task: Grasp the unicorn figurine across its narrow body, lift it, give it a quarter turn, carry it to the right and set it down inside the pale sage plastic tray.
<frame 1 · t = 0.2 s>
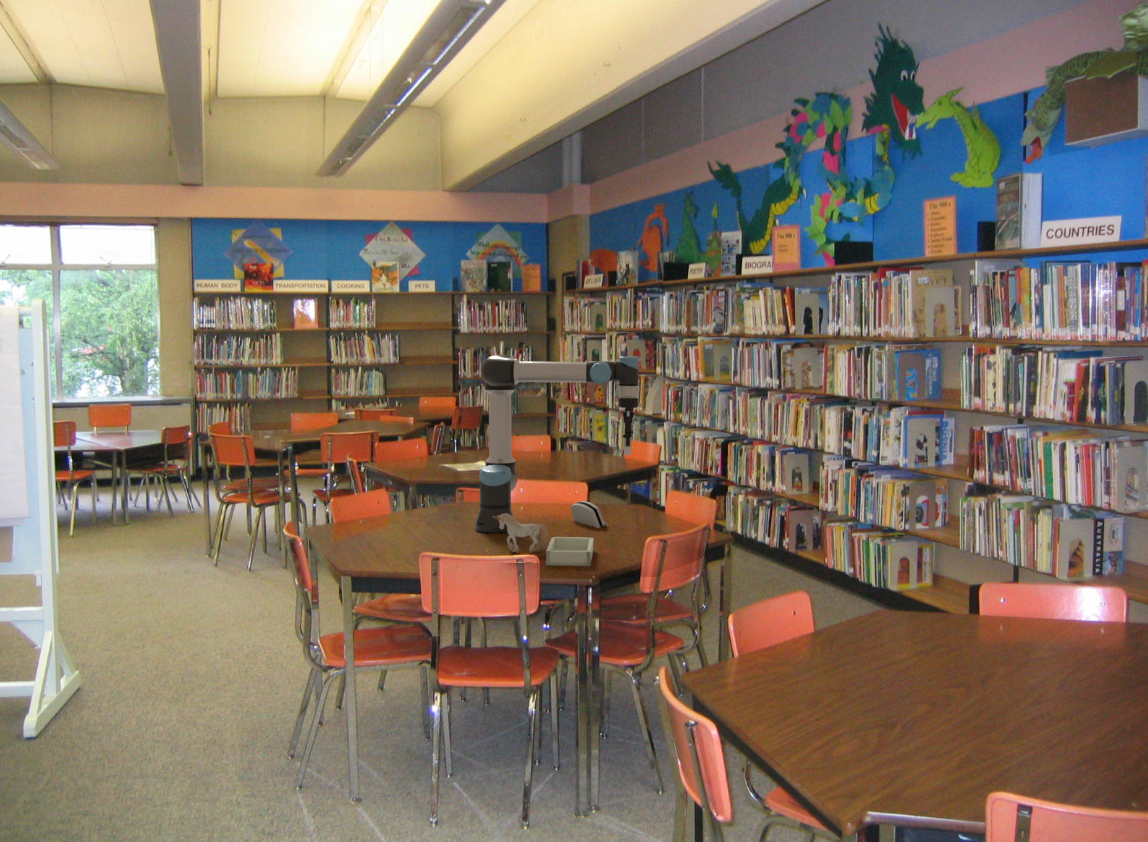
hand: (627, 452, 371), 28 cm above the table, tool pointing down, fingers open, 13 cm apart
tray: (570, 557, 318), on the table
grey curved block: (587, 525, 374), on the table
unicorn figurine: (520, 554, 323), on the table
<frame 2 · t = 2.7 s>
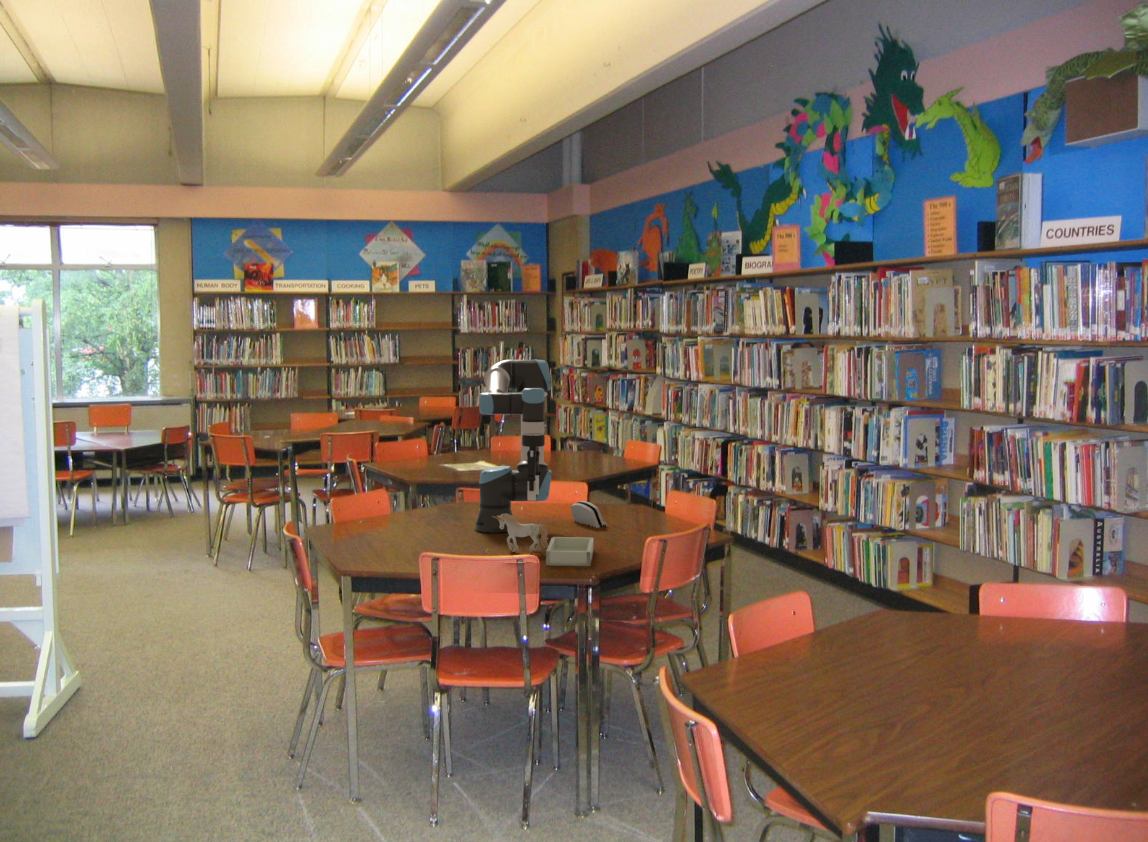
hand: (533, 497, 326), 18 cm above the table, tool pointing down, fingers open, 13 cm apart
nothing on the table moved.
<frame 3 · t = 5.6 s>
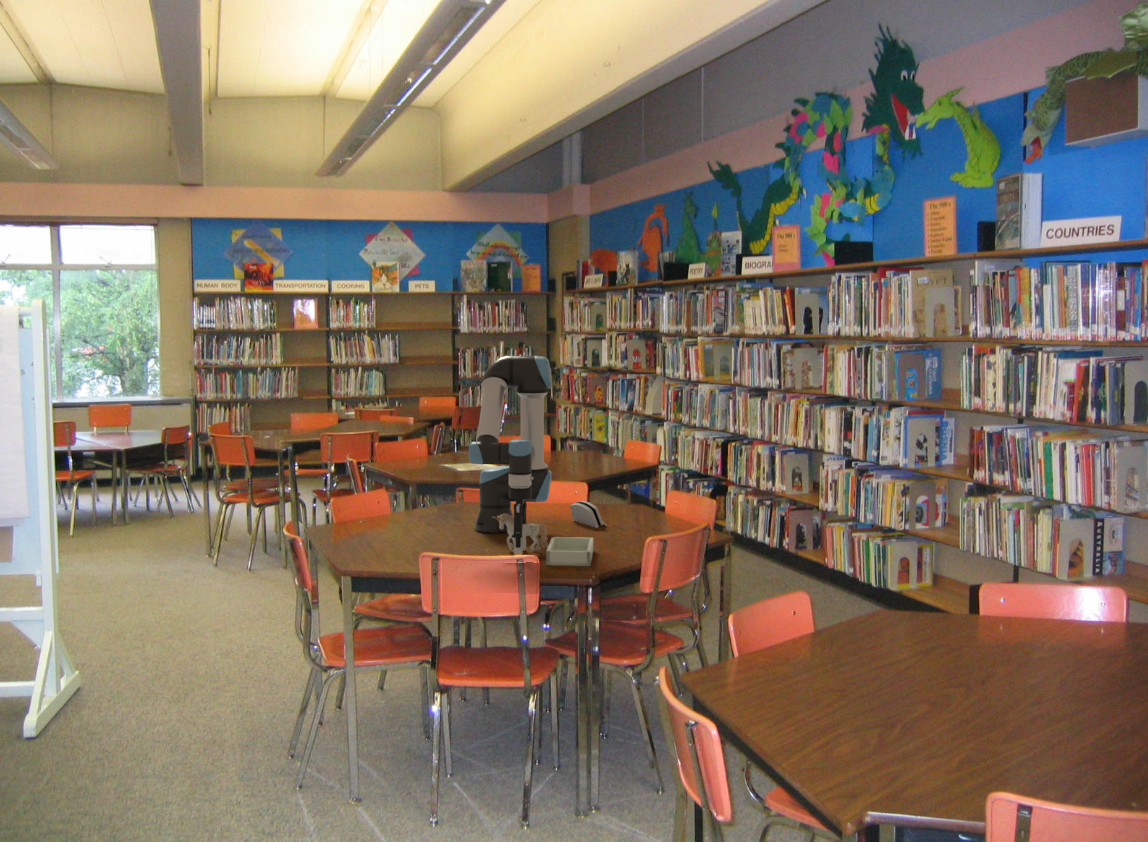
hand: (520, 553, 323), 0 cm above the table, tool pointing down, fingers open, 9 cm apart
unicorn figurine: (520, 554, 322), on the table, touching gripper
everything else where it was.
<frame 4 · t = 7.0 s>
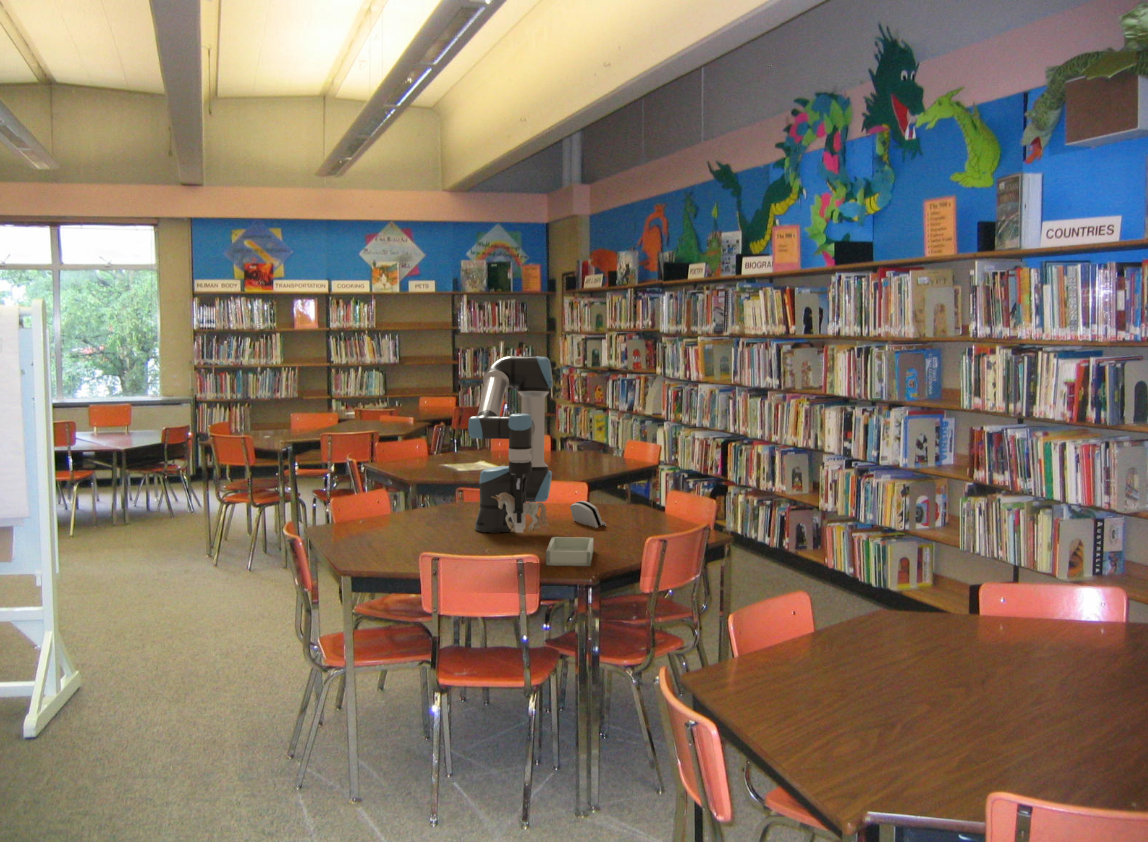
hand: (520, 530, 323), 8 cm above the table, tool pointing down, fingers closed on unicorn figurine, 4 cm apart
unicorn figurine: (519, 533, 320), point 7 cm above the table, touching gripper
everything else where it was.
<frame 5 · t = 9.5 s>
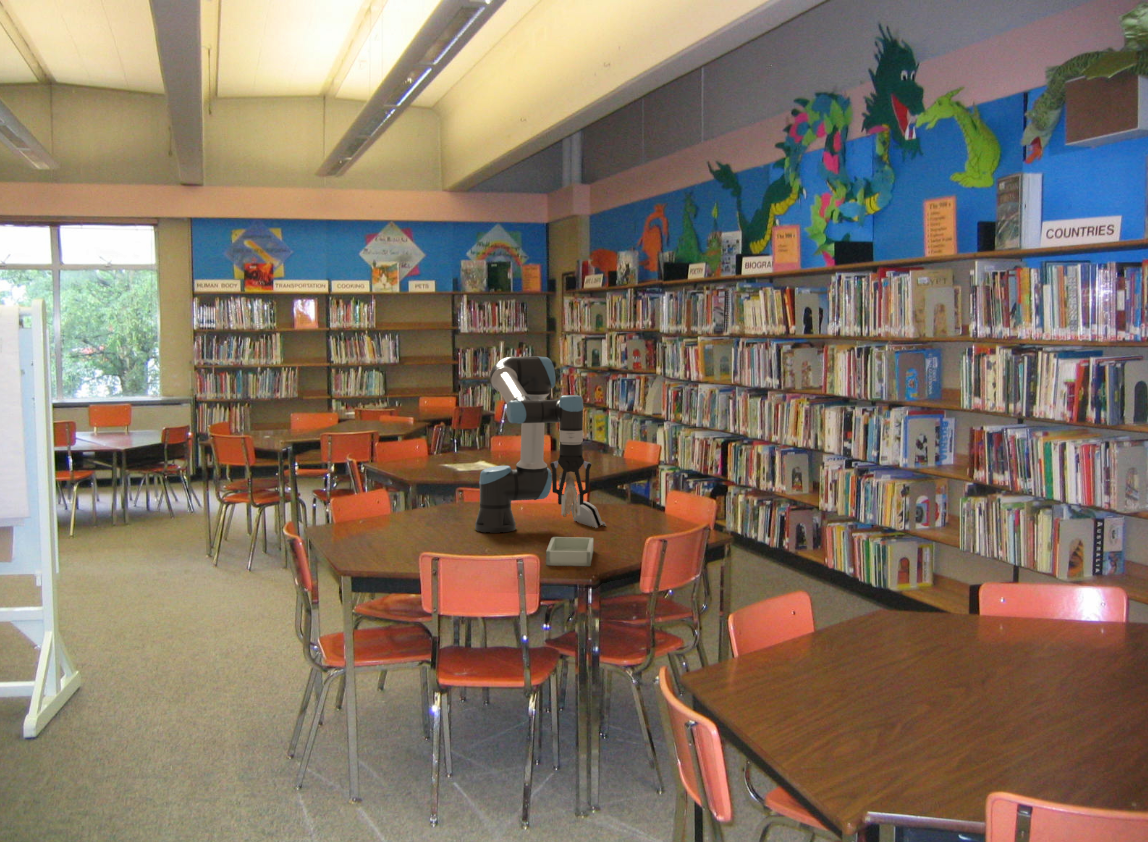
hand: (570, 514, 316), 14 cm above the table, tool pointing down, fingers closed on unicorn figurine, 4 cm apart
unicorn figurine: (562, 515, 317), point 14 cm above the table, touching gripper
everything else where it was.
when the fingers open (2 cm above the table, at t = 12.3 s): unicorn figurine stays where it is, resting on tray.
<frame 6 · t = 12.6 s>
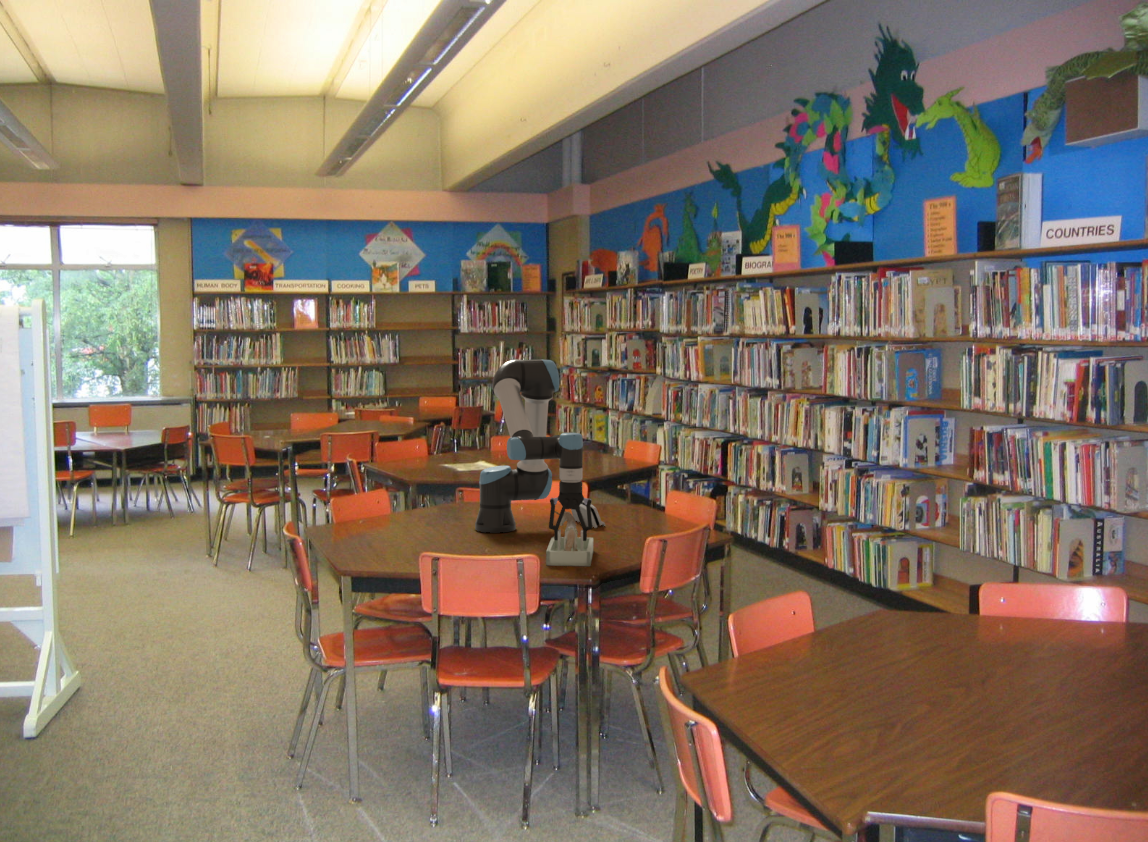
hand: (570, 550, 317), 3 cm above the table, tool pointing down, fingers open, 7 cm apart
unicorn figurine: (561, 555, 318), point 1 cm above the table, touching tray
everything else where it was.
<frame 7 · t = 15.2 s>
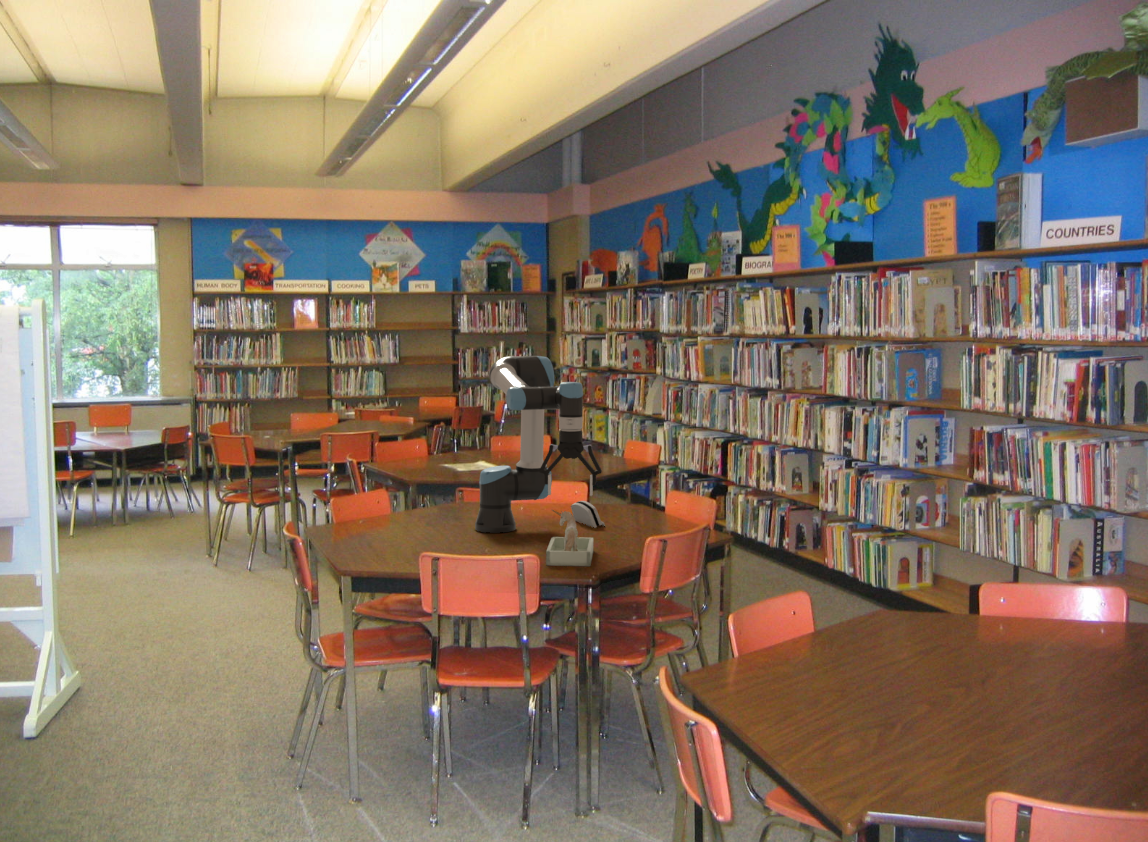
hand: (570, 494, 316), 21 cm above the table, tool pointing down, fingers open, 13 cm apart
nothing on the table moved.
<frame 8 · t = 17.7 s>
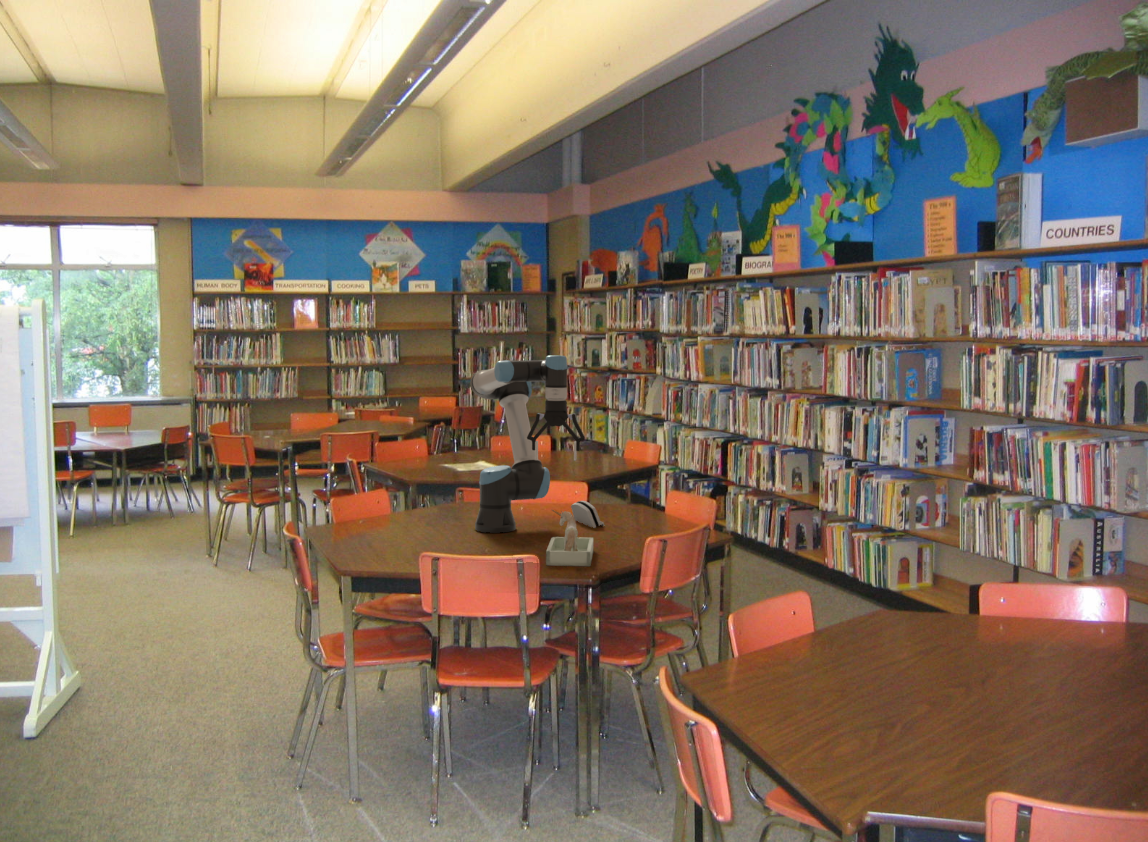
hand: (555, 460, 341), 29 cm above the table, tool pointing down, fingers open, 13 cm apart
nothing on the table moved.
at the end: unicorn figurine inside the target area on the tray (2.9 cm from its centre), point 0.8 cm above the tray's base; the gripper is holding nothing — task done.
